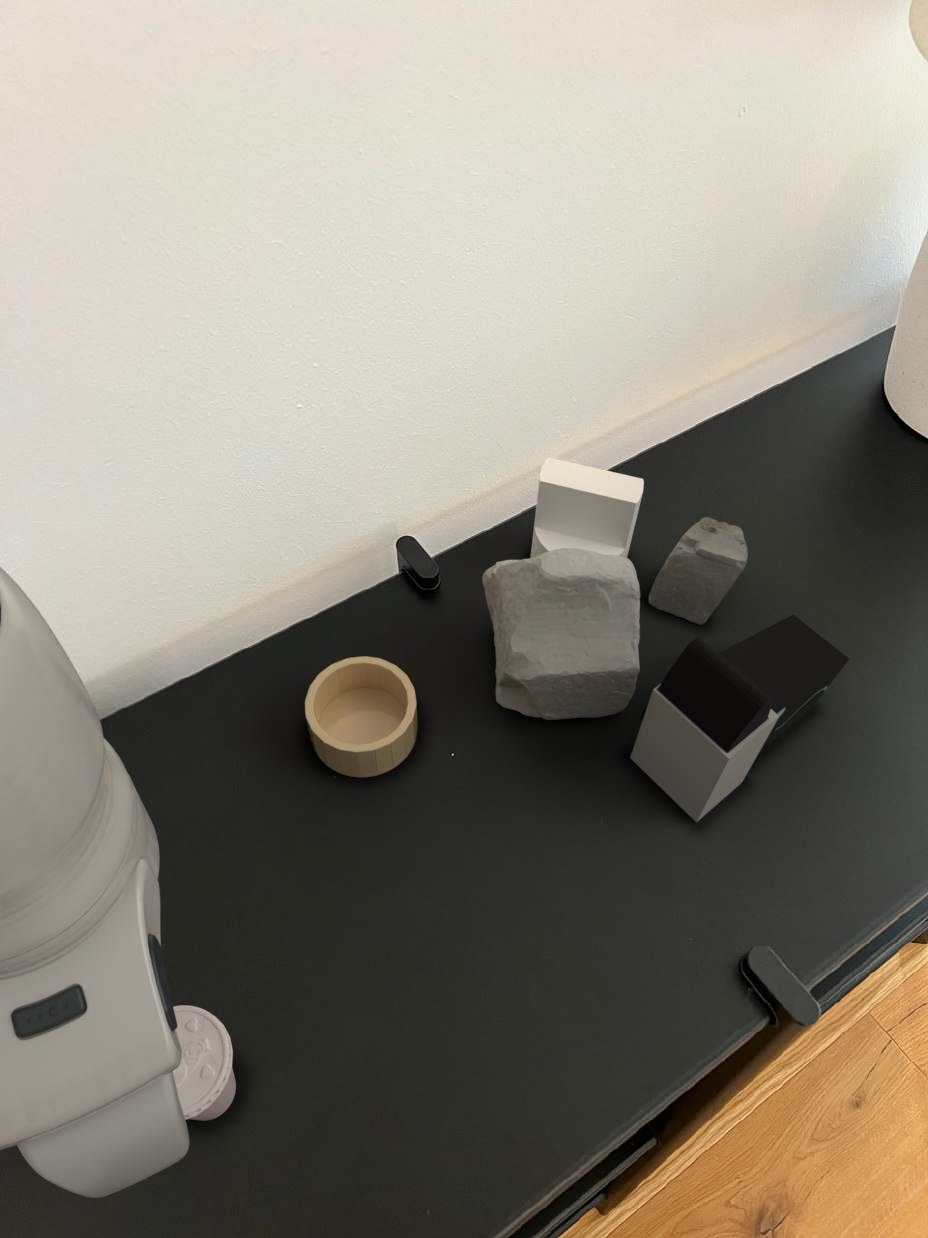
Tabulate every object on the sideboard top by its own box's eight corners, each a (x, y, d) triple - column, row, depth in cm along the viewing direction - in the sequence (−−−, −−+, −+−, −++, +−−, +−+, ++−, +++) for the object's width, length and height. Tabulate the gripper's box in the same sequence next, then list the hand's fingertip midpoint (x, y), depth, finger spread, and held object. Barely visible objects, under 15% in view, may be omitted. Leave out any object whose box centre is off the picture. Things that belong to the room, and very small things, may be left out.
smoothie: (148, 1068, 65) (85, 1017, 54) (237, 1022, 67) (195, 964, 56) (176, 1163, 62) (116, 1131, 50) (269, 1113, 64) (231, 1071, 52)
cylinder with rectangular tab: (518, 591, 90) (527, 504, 80) (542, 523, 95) (553, 434, 85) (612, 614, 88) (632, 529, 79) (631, 544, 93) (652, 456, 84)
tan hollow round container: (298, 768, 79) (291, 742, 75) (326, 677, 84) (321, 649, 80) (405, 785, 78) (403, 760, 74) (426, 693, 83) (425, 665, 79)
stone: (494, 734, 81) (503, 632, 69) (479, 617, 88) (485, 506, 76) (628, 723, 82) (661, 621, 69) (603, 609, 89) (628, 498, 77)
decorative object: (835, 700, 83) (902, 596, 71) (696, 822, 76) (744, 731, 64) (763, 640, 87) (815, 532, 75) (624, 752, 80) (656, 653, 68)
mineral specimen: (741, 631, 87) (744, 575, 80) (647, 619, 90) (642, 564, 83) (752, 569, 91) (756, 511, 84) (661, 560, 94) (658, 503, 87)
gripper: (-110, 662, 38) (2, 804, 49) (-20, 1207, 28) (94, 1228, 39) (53, 613, 40) (125, 761, 51) (192, 1107, 30) (243, 1155, 41)
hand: (113, 967), depth 45 cm, fingers open, 8 cm apart
